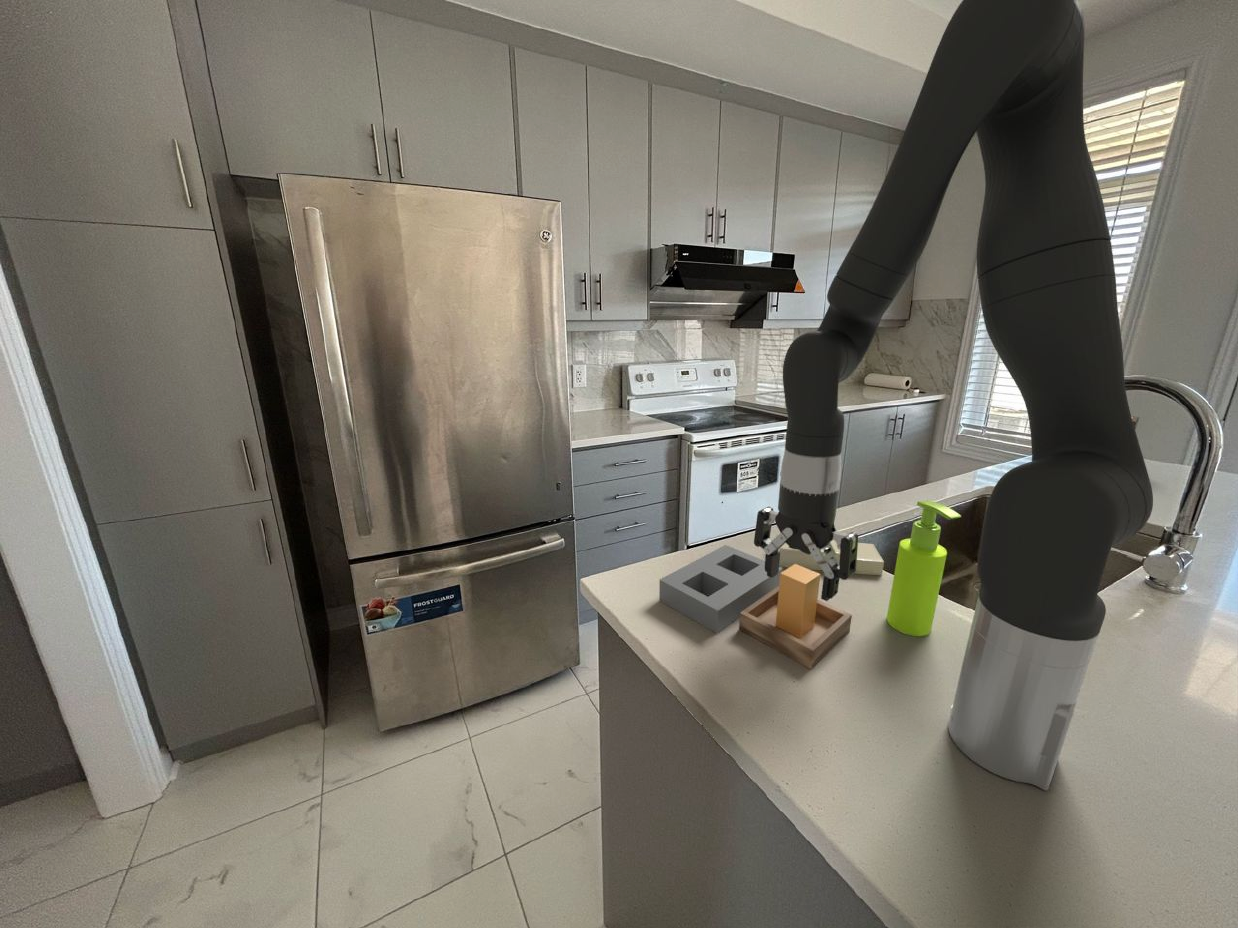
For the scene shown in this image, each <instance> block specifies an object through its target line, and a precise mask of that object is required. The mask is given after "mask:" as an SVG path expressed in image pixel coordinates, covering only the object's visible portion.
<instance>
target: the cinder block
mask: <svg viewBox="0 0 1238 928" xmlns="http://www.w3.org/2000/svg"><path fill="white" fill-rule="evenodd" d="M783 569H784V567H779V572H778V574H777V575H776V576H774V577H773V578H771V577H768V576H767V572H766V571H765V559H764V560H763V559H761V558H759V557H756V556H754V555H752V554H748V553H746V552H744V551H742V550H739V549H737V548H734V547H733V546H732V547H731V546H729V545H726V544H724V545H722V546H720V547H719V548H717V549H715V550H713V551H711V552H709V553H708V554H707V553H706V554H705V555H704V556H701V557H700V558H697V559H696V560H694V561H692V562H690V563H688V564H687V565H684V566H682V567H681V568H678V569H677V570H676V571H673V572H671V573H669V574H668V575H666V576H663V577H662V578H660V579H659V590H658V591H659V595H658V596H659V602H661V603H663V604H664V605H667V606H668V607H670V608H672V609H674V611H675V610H676V611H677V612H679V613H681V614H683V615H684V616H686V617H687V618H689V619H691V620H693V621H694V622H696V623H698V624H700V625H702V626H703V627H704V628H706V629H708V630H710V631H712V632H714V634H719V633H720V632H721V631H723V630H724V629H725V628H727V627H729V626H730V625H731V624H733V623H734V622H735V621H737V620H738V619H740V612H742V611H743V610H745V609H746V608H748V607H749V606H750V605H752V604H753V603H755V602H756V601H758V600H759V599H760V598H762V597H763V596H765V595H766V594H768V593H769V592H771V591H772V590H773V589H775V588H776V587H778V586H779V583H780V573H781V572H783V571H784V570H783ZM707 595H708V596H707Z"/></svg>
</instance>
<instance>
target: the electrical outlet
mask: <svg viewBox="0 0 1238 928" xmlns="http://www.w3.org/2000/svg"><path fill="white" fill-rule="evenodd" d="M779 534H780V533H777V534H776V536H775V538H776V537H777V536H778V535H779ZM830 543H831V545H832V547H833V549H834V550H835V553H836V555H835V556H836V558H837V560H838V562H839V563H840V549H838V548H837V543H836V541H835V540H832V541H831V542H830ZM778 551H779V552H780V562H779V567H781V568H789V567H791V566H793V565H794V564H797V565H799V566H802V567H804V568H807V569H809V570H812V571H813V570H816V571H823V570H822V568H821V566H820V565H819V564H817V563H816V561H815V559H814V557H813V556H812V554H810V555H808V554H806V553H803V552H802V551H800V550H798V549H792V548H789V545H787V544H786V543H785V544H784V545H783V546H782V547H780V548H779V549H778ZM821 552H822V554H824V550H823V548H822V549H821ZM884 564H885V561H884V560H883V558H882V556H881V555H880V553H879V551H878V550H877V548H876V546H875V545H874V544H873V543H865V542H863V543H862V542H858V549H857V563H856V572H855V573H854V574H859V575H860V574H862V575H872V576H873V575H874V576H882V575H883V571H884Z"/></svg>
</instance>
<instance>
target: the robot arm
mask: <svg viewBox="0 0 1238 928" xmlns="http://www.w3.org/2000/svg"><path fill="white" fill-rule="evenodd" d="M1085 30H1086V29H1085V14H1084V13H1083V8H1082V6H1081V4H1080V0H962V1H961V2H960V4H959V5H958V6H957V8H956V9H955V11H954V13H953V14H952V16H951V18H950V19H949V21H948V23H947V25H946V28H945V29H944V31H943V34H942V36H941V39H940V40H939V44H938V45H937V48H936V50H935V53H934V56H933V58H932V61H931V63H930V66H929V68H928V71H927V73H926V76H925V78H924V81H923V85H922V87H921V89H920V92H919V95H918V97H917V100H916V102H915V105H914V108H913V110H912V112H911V114H910V118H909V120H908V122H907V124H906V127H905V129H904V131H903V134H902V136H901V140H900V142H899V144H898V147H897V149H896V152H895V154H894V156H893V159H892V161H891V163H890V165H889V168H888V171H887V173H886V175H885V178H884V180H883V183H882V184H881V187H880V188H879V190H878V193H877V195H876V198H875V200H874V202H873V204H872V206H871V208H870V209H869V212H868V215H867V217H866V218H865V221H864V223H863V224H862V227H861V228H860V230H859V232H858V234H857V235H856V237H855V239H854V240H853V243H852V245H851V246H850V248H849V250H848V252H847V253H846V255H845V256H844V258H843V261H842V263H841V264H840V266H839V268H838V270H837V272H836V275H834V278H833V279H832V281H831V283H830V286H829V288H828V290H827V294H826V298H827V302H828V304H829V305H828V308H827V311H826V312H825V315H824V317H823V319H822V321H821V322H820V325H819V327H818V328H817V330H814V331H808V332H805V333H803V334H801V335H799V336H797V337H796V338H795V339H794V340H793V341H792V342H791V344H790V345H789V347H788V348H787V351H786V353H785V356H784V361H783V364H782V365H783V366H782V384H783V393H784V402H785V407H786V414H787V423H786V433H785V441H784V442H785V445H784V452H783V458H782V461H781V467H780V468H781V469H780V474H779V475H780V479H779V492H778V502H777V504H778V505H777V510H778V511H775V510H774V508H773V507H772V506H766V507H764V508H762V509H760V510H758V512H757V516H756V522H755V530H754V538H753V539H754V540H753V544H754V545H755V547H756V548H759V547H760V548H761V549H762V550H763V551H764V553H765V557H764V558H765V559H764V561H765V571H766V572H767V576H768V577H771V578H773V577H774V576H776V575H777V574H778V572H779V562H780V552H779V551H778V549H779V548H780V547H782V546H783V545H784V544H785V543H786V544H787V545H789V548H792V549H798V550H800V551H802V552H803V553H806V554H808V555H810V554H812V556H813V557H814V559H815V561H816V563H817V564H819V565H820V566H821V568H822V570H821V571H823V573H824V576H823V579H822V587H821V597H820V599H821V600H823V601H825V602H828V601H829V600H830V599H833V598H834V597H836V596H837V594H838V593H839V584H840V579H841V580H843V581H846V580H849V578H850V577H851V576H852V575H854V574H856V573H855V572H856V563H857V549H858V543H859V535H858V533H856V532H854V531H852V532H849V533H845V532H840V531H837V529H836V527H835V520H836V517H837V516H836V515H837V507H838V501H839V500H838V499H839V493H840V492H839V490H840V483H841V477H842V475H841V474H842V450H843V441H844V433H845V415H844V412H843V411H842V410H841V409H840V408H838V404H839V402H838V401H839V384H840V383H842V382H844V381H845V380H847V379H848V378H849V377H851V376H852V375H853V373H854V372H855V371H856V370H857V368H858V367H859V366H860V364H861V363H862V361H863V359H864V358H865V355H866V354H867V352H868V349H869V348H870V346H871V344H872V342H873V339H874V337H875V336H876V333H877V330H879V329H878V328H879V326H880V324H881V321H882V318H883V317H884V314H885V313H886V312H887V310H888V309H889V308H890V306H891V304H892V303H893V302H894V300H895V298H896V297H897V295H898V294H899V292H900V291H901V289H902V287H903V286H904V284H905V283H906V281H907V280H908V278H909V276H910V274H911V273H912V272H913V270H914V268H915V267H916V265H917V263H918V262H919V260H920V258H921V256H922V255H923V252H924V250H925V248H926V246H927V244H928V241H929V238H930V237H931V234H932V231H933V228H934V227H935V223H936V220H937V218H938V215H939V212H940V209H941V206H942V204H943V200H944V198H945V195H946V192H947V190H948V188H949V185H950V183H951V180H952V178H953V175H954V173H955V172H956V169H957V167H958V165H959V163H960V161H961V158H962V157H963V154H964V153H965V151H966V150H967V147H968V145H969V144H970V143H971V141H972V140H973V137H974V136H975V134H976V136H977V140H978V145H979V150H980V153H981V159H982V163H983V170H984V171H983V172H984V179H985V180H984V182H985V189H984V190H985V191H984V198H983V206H982V210H981V215H980V220H979V221H980V222H979V228H978V234H977V240H976V241H977V243H976V274H977V275H976V276H977V279H978V280H977V283H978V284H977V285H978V292H979V298H980V299H979V300H980V303H981V306H980V307H981V312H982V317H983V322H984V326H985V328H986V332H987V335H988V337H989V339H990V341H991V343H992V345H993V347H994V350H995V351H996V353H997V355H998V357H999V358H1000V360H1001V362H1002V363H1003V364H1004V367H1005V368H1006V370H1007V372H1008V373H1009V375H1010V376H1011V378H1012V380H1013V381H1014V383H1015V384H1016V387H1017V388H1018V390H1019V392H1020V394H1021V396H1022V399H1023V402H1024V405H1025V408H1026V412H1027V417H1028V423H1029V430H1030V442H1031V461H1028V462H1026V463H1025V462H1024V463H1023V464H1019V465H1017V466H1016V467H1013V468H1012V469H1010V470H1008V471H1007V472H1005V473H1004V474H1003V475H1002V476H1001V477H1000V478H999V480H998V481H997V482H996V484H995V485H994V488H993V490H992V492H991V494H990V496H989V499H988V504H987V507H986V510H985V516H984V520H983V527H982V530H981V531H982V533H981V537H980V544H979V548H978V555H977V565H976V567H977V568H976V569H977V570H976V571H977V575H978V578H979V582H980V588H979V593H978V596H977V600H976V604H975V605H976V606H975V609H974V613H973V618H972V623H971V626H970V630H969V635H968V639H967V641H966V647H965V651H964V656H963V659H962V660H963V661H962V664H961V668H960V671H959V676H958V681H957V686H956V689H955V694H954V698H953V702H952V705H951V709H950V712H949V714H950V715H949V720H948V723H947V724H948V725H947V727H948V732H949V734H950V737H951V739H952V740H953V742H954V744H955V745H956V747H958V748H959V750H960V751H961V752H962V753H963V754H964V755H966V757H968V758H969V759H971V761H972V762H974V763H975V764H977V765H978V766H980V767H982V768H983V769H985V770H987V771H989V772H990V773H992V774H993V775H994V774H995V775H997V776H999V777H1002V778H1005V779H1007V780H1011V781H1014V782H1017V783H1024V784H1031V785H1034V786H1036V787H1038V788H1039V789H1042V790H1044V791H1048V790H1049V788H1050V786H1051V785H1050V784H1051V782H1052V779H1053V776H1054V773H1055V770H1056V766H1057V764H1058V761H1059V758H1060V755H1061V752H1062V748H1063V746H1064V743H1065V739H1066V737H1067V733H1068V732H1069V728H1070V725H1071V723H1072V719H1073V716H1074V712H1075V709H1076V706H1077V702H1078V698H1079V696H1080V691H1081V690H1082V686H1083V683H1084V679H1085V675H1086V674H1087V670H1088V668H1089V664H1090V661H1091V659H1092V655H1093V652H1094V649H1095V647H1096V643H1097V640H1098V637H1099V634H1100V633H1101V629H1102V627H1103V623H1104V620H1105V617H1106V614H1107V613H1106V611H1107V609H1106V608H1107V607H1106V605H1105V602H1104V600H1103V599H1102V597H1100V596H1099V590H1100V587H1101V586H1100V585H1101V582H1102V579H1103V576H1104V572H1105V569H1106V565H1107V562H1108V558H1109V557H1110V553H1111V549H1112V548H1113V547H1115V546H1117V545H1120V544H1122V543H1124V542H1125V541H1128V540H1130V539H1131V538H1132V537H1135V536H1136V535H1137V534H1138V533H1140V531H1141V530H1142V529H1143V528H1144V527H1145V526H1146V524H1147V522H1149V519H1150V517H1151V515H1152V511H1153V509H1154V508H1153V506H1154V495H1153V494H1154V493H1153V489H1152V484H1151V481H1150V476H1149V472H1148V470H1147V466H1146V462H1145V459H1144V456H1143V453H1142V449H1141V447H1140V443H1139V440H1138V439H1139V438H1138V436H1137V431H1136V429H1135V428H1134V424H1133V421H1132V417H1131V416H1132V413H1131V410H1130V405H1129V402H1128V395H1127V390H1126V382H1125V381H1126V380H1125V367H1124V352H1123V341H1122V331H1121V324H1120V316H1119V309H1118V308H1119V307H1118V306H1119V305H1118V292H1117V278H1116V271H1115V264H1114V262H1115V261H1114V254H1113V248H1112V241H1111V240H1112V239H1111V235H1110V230H1109V226H1108V225H1109V223H1108V220H1107V216H1106V210H1105V205H1104V201H1103V200H1104V199H1103V196H1102V192H1101V187H1100V185H1099V180H1098V177H1097V174H1096V172H1095V168H1094V164H1093V161H1092V159H1091V155H1090V151H1089V149H1088V145H1087V139H1086V132H1085V124H1084V123H1085V122H1084V119H1085V118H1084V63H1085V61H1084V60H1085V59H1084V58H1085V32H1086V31H1085ZM773 523H775V524H776V526H777V528H778V529H777V530H778V531H779V532H780V534H779V535H778V536H777V537H776V536H775V537H774V538H773V539H771V533H772V532H771V531H772V524H773ZM832 540H834V541H836V543H837V548H838V549H840V563H839V562H838V560H837V558H836V556H835V555H836V553H835V550H834V549H833V547H832V545H831V543H830V542H831V541H832ZM822 548H823V550H824V554H822V552H821V549H822Z"/></svg>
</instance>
